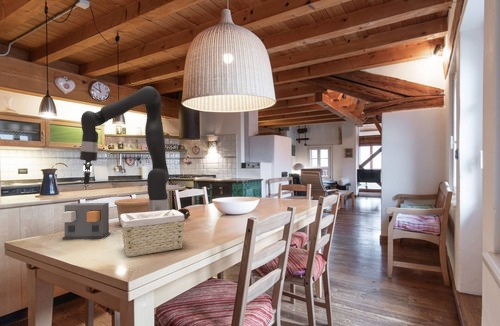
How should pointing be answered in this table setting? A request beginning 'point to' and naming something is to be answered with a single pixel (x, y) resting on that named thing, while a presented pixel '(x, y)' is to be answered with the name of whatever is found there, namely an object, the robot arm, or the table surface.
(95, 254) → the table surface
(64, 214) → the cream paddle
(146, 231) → the storage basket
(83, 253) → the table surface
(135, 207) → the pottery
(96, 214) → the orange paddle
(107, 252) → the table surface
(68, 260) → the table surface
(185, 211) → the pottery mug
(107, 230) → the switch box
